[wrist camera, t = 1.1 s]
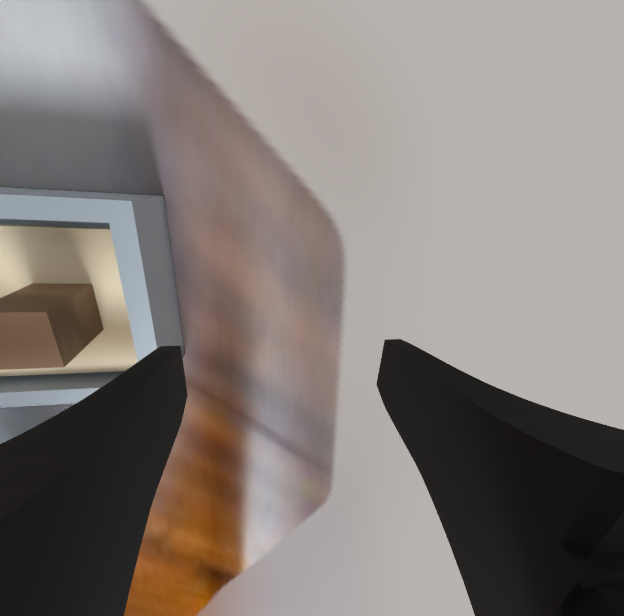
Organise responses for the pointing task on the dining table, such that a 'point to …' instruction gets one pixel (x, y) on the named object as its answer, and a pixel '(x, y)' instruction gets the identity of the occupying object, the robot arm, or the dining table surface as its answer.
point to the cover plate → (71, 266)
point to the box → (132, 268)
